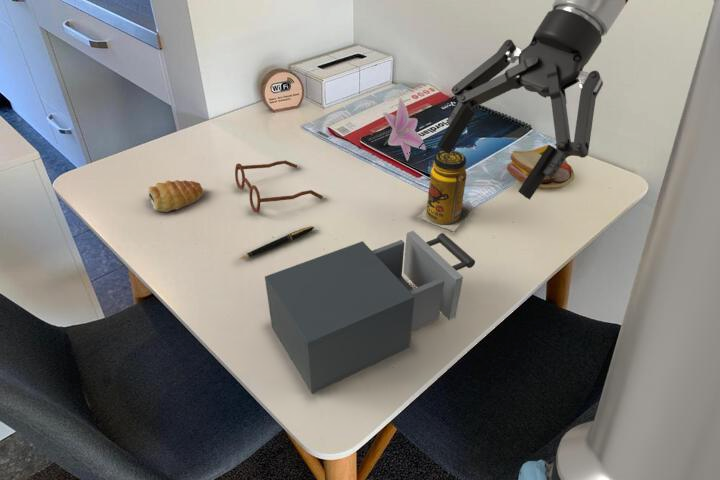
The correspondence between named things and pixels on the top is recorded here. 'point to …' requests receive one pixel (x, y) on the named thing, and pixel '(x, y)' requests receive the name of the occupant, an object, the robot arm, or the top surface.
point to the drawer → (427, 275)
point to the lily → (403, 130)
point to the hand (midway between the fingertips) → (480, 171)
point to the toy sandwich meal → (525, 164)
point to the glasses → (244, 180)
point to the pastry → (174, 194)
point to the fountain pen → (279, 241)
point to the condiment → (447, 191)
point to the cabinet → (339, 314)
